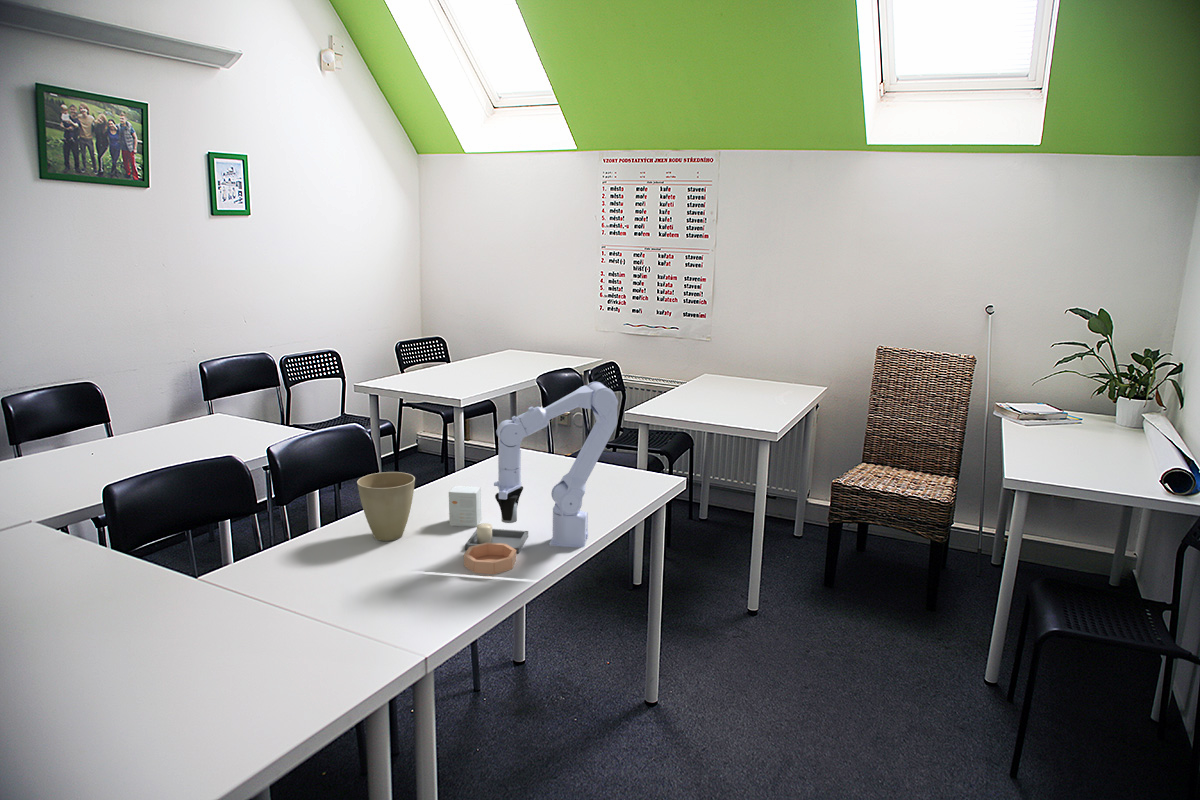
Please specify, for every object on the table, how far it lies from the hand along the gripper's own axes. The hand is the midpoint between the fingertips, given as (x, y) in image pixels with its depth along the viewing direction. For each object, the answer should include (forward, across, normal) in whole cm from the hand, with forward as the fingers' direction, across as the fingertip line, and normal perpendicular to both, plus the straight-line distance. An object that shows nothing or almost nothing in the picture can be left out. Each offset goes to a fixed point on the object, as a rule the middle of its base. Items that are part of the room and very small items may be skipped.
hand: (509, 517), depth 203 cm
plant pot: (+9, -2, -34) cm, 35 cm away
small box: (+9, -14, -16) cm, 23 cm away
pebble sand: (+8, -1, -7) cm, 10 cm away
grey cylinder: (+1, 0, 0) cm, 1 cm away
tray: (+8, -1, -3) cm, 9 cm away
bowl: (+8, +12, -2) cm, 15 cm away
